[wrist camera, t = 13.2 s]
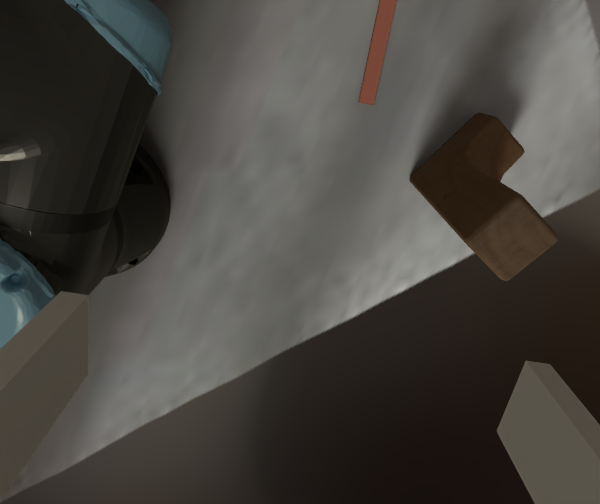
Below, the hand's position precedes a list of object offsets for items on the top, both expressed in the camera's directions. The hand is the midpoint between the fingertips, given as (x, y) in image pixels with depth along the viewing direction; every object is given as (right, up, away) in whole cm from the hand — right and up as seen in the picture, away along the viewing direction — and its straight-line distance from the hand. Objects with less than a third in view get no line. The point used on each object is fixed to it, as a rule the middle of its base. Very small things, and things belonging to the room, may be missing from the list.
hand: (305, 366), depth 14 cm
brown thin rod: (+7, +22, +28) cm, 37 cm away
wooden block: (+15, +12, +33) cm, 38 cm away
